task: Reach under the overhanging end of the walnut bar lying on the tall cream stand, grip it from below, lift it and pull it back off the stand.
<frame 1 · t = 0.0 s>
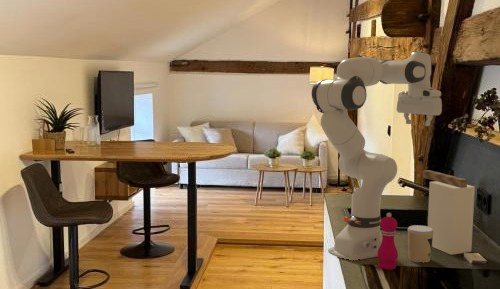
hand: (417, 124, 231), 48 cm above the worktop, tool pointing down, fingers open, 8 cm apart
walnut bar: (443, 182, 222), point 26 cm above the worktop, touching cream stand
coffee cup: (419, 259, 208), on the worktop
cream stand: (448, 247, 221), on the worktop
pepper mill: (387, 267, 200), on the worktop
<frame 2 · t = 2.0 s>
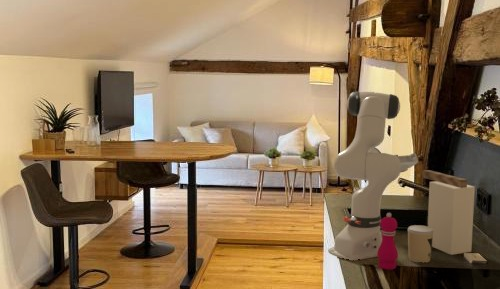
hand: (405, 155, 245), 33 cm above the worktop, tool pointing upward, fingers open, 8 cm apart
nothing on the worktop moved.
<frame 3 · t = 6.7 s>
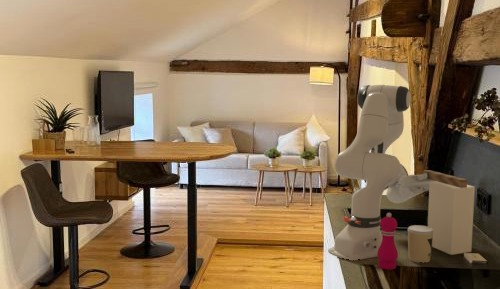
hand: (431, 174, 228), 28 cm above the worktop, tool pointing upward, fingers closed on walnut bar, 3 cm apart
walnut bar: (443, 182, 222), point 26 cm above the worktop, touching cream stand, gripper
everything else where it was.
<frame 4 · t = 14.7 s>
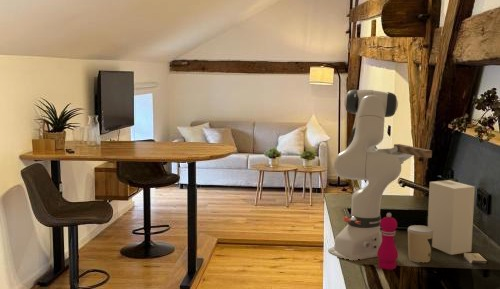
hand: (401, 147, 247), 36 cm above the worktop, tool pointing upward, fingers closed on walnut bar, 3 cm apart
walnut bar: (411, 154, 240), point 34 cm above the worktop, touching gripper
everything else where it was.
at the end: the gripper is holding walnut bar; walnut bar point 34.4 cm above the worktop; walnut bar moved 22.9 cm from its start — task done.
